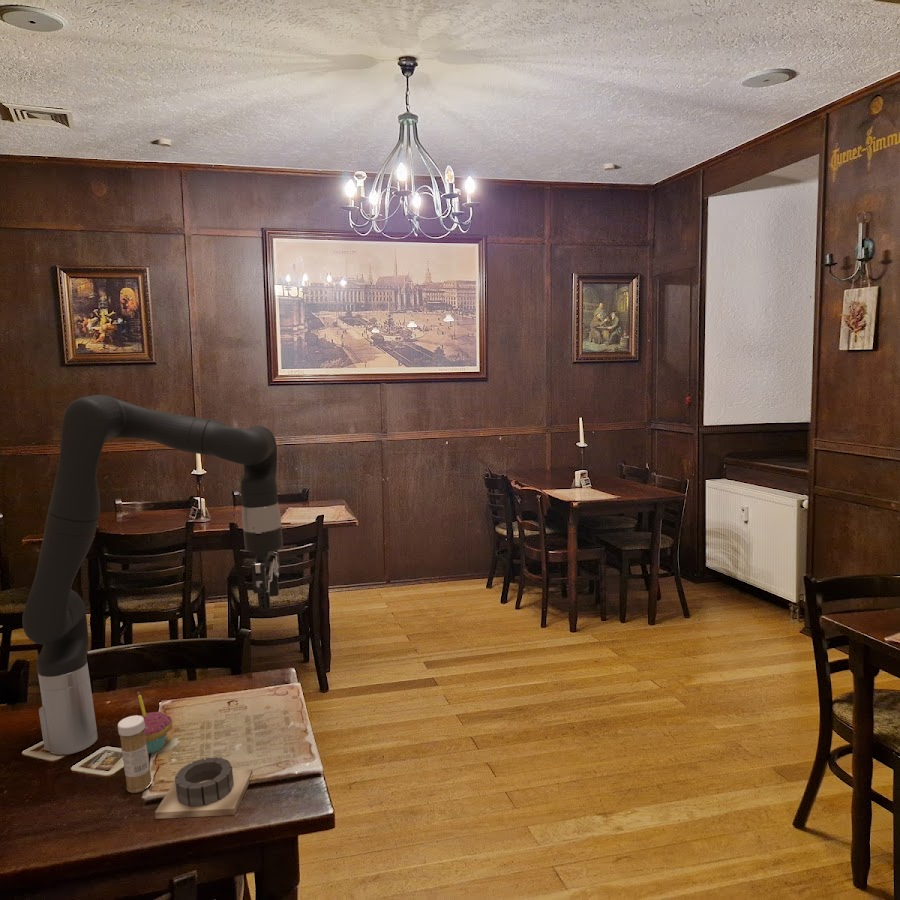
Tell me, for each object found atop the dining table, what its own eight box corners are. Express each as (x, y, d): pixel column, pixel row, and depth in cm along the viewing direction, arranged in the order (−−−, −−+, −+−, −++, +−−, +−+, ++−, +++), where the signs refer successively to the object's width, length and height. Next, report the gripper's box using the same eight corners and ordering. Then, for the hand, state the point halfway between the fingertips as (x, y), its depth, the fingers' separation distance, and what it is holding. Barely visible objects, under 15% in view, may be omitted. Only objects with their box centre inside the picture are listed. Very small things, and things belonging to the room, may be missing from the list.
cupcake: (121, 755, 154) (113, 700, 152) (150, 734, 161) (144, 681, 160) (155, 761, 151) (148, 705, 149) (183, 739, 158) (177, 685, 157)
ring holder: (155, 818, 132) (152, 794, 131) (180, 778, 144) (177, 756, 143) (234, 814, 132) (232, 790, 131) (252, 775, 144) (250, 752, 143)
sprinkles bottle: (151, 777, 145) (142, 712, 143) (153, 789, 141) (144, 722, 139) (125, 784, 143) (116, 718, 141) (126, 797, 139) (117, 729, 137)
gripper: (251, 518, 158) (258, 592, 161) (234, 536, 144) (242, 617, 147) (287, 516, 159) (293, 590, 161) (273, 534, 145) (281, 614, 147)
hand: (269, 602), depth 154 cm, fingers open, 8 cm apart
